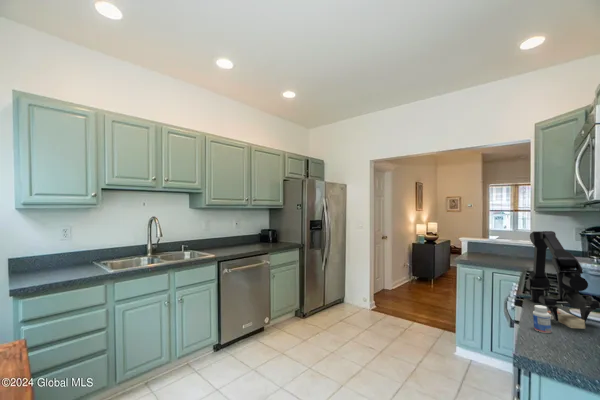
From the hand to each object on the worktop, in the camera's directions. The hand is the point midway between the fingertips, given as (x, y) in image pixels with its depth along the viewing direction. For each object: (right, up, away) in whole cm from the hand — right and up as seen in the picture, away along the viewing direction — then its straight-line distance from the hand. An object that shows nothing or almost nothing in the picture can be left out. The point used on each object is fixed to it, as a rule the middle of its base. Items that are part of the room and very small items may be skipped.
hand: (570, 322), depth 119 cm
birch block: (0, -1, 0) cm, 1 cm away
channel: (+3, -2, +10) cm, 11 cm away
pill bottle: (-16, -1, -5) cm, 17 cm away
